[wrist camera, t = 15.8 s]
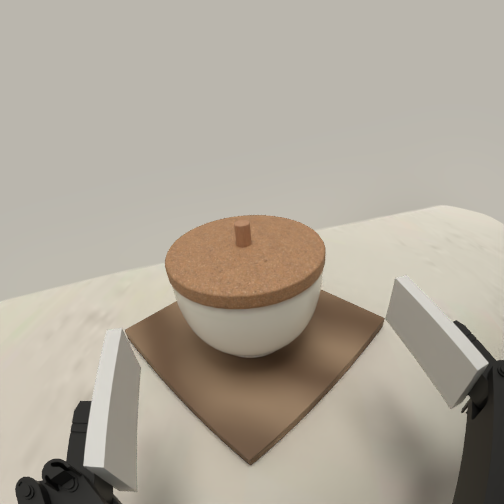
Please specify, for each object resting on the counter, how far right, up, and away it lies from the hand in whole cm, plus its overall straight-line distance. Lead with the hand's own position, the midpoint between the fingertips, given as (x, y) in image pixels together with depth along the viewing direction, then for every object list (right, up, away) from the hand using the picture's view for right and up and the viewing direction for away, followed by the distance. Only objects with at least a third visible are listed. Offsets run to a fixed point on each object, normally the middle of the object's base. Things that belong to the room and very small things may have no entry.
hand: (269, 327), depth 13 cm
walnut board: (-1, -4, +11) cm, 12 cm away
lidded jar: (-1, -3, +11) cm, 11 cm away
